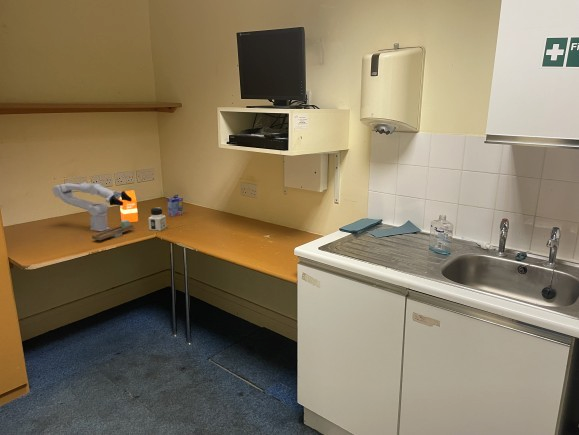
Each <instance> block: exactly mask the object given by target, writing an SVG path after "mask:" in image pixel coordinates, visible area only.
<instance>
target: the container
mask: <svg viewBox="0 0 579 435" xmlns="http://www.w3.org/2000/svg"><path fill="white" fill-rule="evenodd" d="M150 214H151V215H150V217H148V229H149V230H150V231H162V230H164V229H166V228H167V219H166V215H163V209H162V208H161V207H152V208H151V209H150Z"/></svg>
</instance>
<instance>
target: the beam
mask: <svg viewBox="0 0 579 435" xmlns="http://www.w3.org/2000/svg"><path fill="white" fill-rule="evenodd" d="M133 229H135V228H134V225H133V224H130V226H128V227H125V228H121V225H119V226H117V227H114V228H110V229H107V230H104V231H100V232H99V233H95V234H92V235H91V239H92V240H96V241H97V240H98V241H102V240H105V239H108V238H114V239H117V238H119V237H122V236H123V233H125V232H128V231H131V230H133Z"/></svg>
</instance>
